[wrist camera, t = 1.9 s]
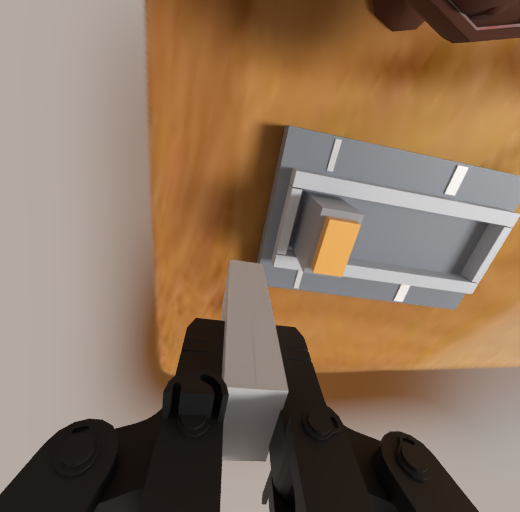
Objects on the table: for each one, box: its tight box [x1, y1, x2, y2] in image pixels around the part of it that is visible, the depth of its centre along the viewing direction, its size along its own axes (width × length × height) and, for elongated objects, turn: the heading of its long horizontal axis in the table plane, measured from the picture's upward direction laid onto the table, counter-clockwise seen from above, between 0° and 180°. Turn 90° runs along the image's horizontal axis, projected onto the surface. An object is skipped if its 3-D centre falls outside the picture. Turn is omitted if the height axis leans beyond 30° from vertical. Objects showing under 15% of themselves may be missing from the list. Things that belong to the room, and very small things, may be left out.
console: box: [257, 126, 520, 310], centre depth 25 cm, size 14×22×4 cm, turn 79°
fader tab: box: [291, 191, 364, 278], centre depth 21 cm, size 5×3×6 cm, turn 169°
